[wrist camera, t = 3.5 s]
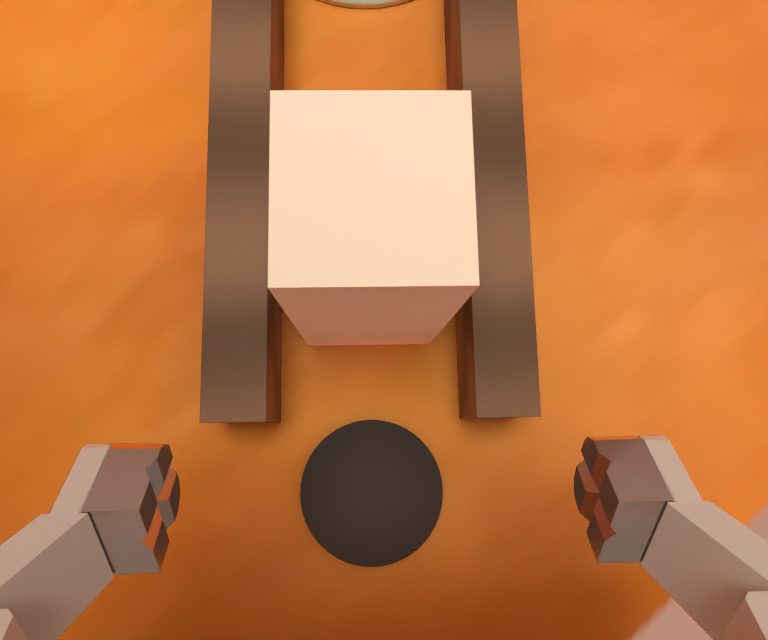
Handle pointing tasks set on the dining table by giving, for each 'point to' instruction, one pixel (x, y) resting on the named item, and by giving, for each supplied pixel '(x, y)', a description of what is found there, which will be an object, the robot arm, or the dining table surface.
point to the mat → (365, 3)
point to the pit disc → (371, 493)
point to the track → (251, 216)
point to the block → (371, 213)
